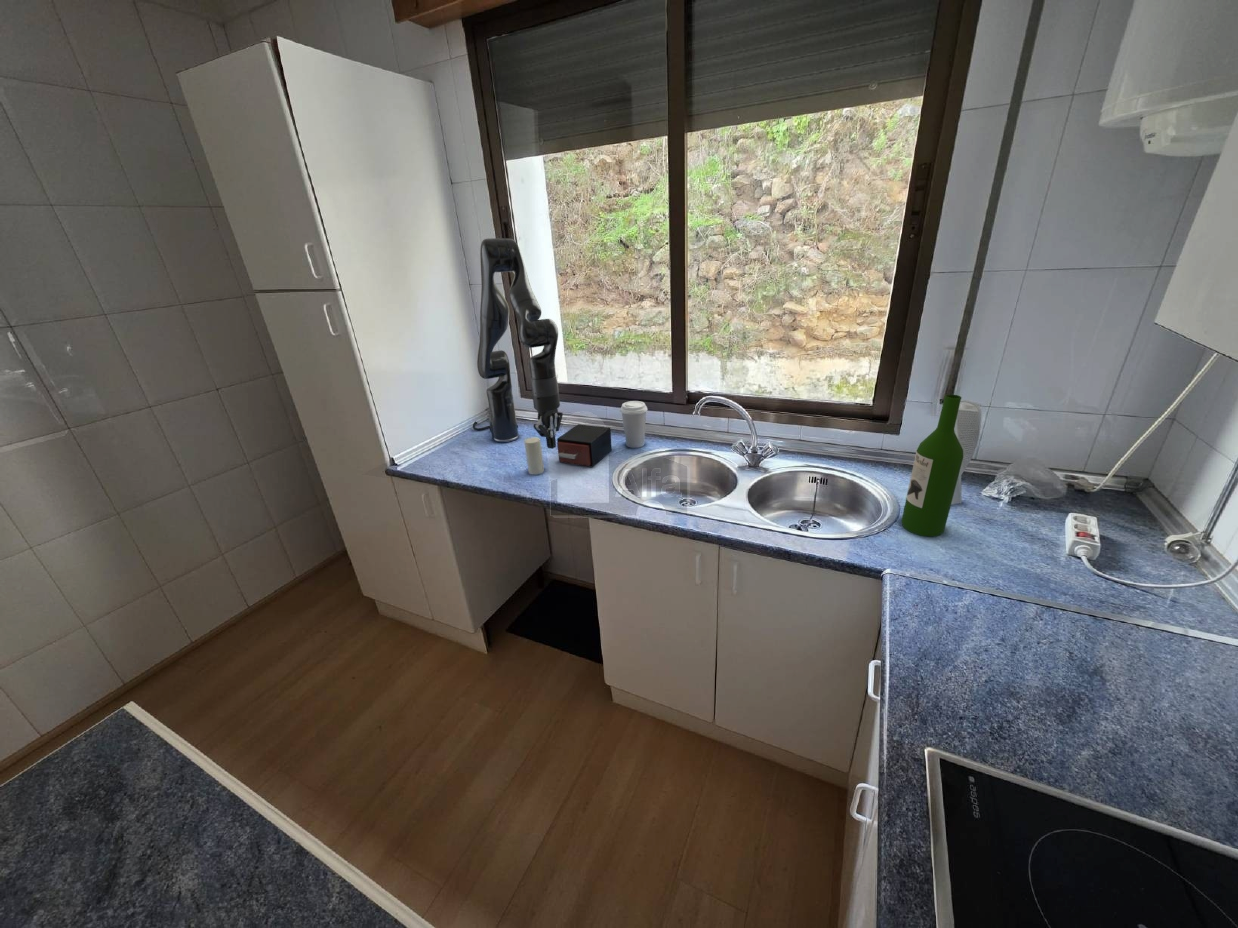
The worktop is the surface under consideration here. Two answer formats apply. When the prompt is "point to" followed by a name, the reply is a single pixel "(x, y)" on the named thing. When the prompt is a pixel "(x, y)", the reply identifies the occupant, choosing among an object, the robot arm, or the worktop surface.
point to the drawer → (574, 453)
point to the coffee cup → (634, 422)
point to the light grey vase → (966, 437)
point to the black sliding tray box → (590, 440)
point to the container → (534, 455)
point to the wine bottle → (934, 475)
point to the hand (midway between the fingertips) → (551, 447)
